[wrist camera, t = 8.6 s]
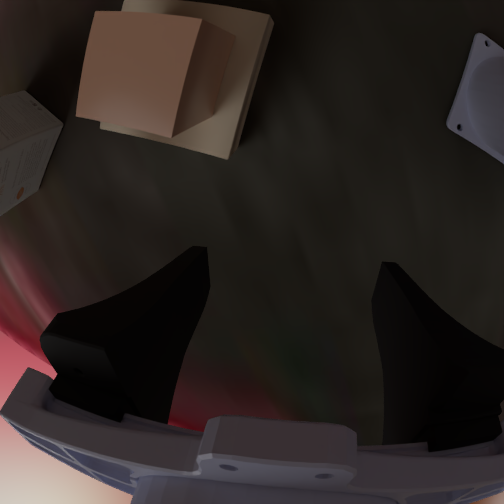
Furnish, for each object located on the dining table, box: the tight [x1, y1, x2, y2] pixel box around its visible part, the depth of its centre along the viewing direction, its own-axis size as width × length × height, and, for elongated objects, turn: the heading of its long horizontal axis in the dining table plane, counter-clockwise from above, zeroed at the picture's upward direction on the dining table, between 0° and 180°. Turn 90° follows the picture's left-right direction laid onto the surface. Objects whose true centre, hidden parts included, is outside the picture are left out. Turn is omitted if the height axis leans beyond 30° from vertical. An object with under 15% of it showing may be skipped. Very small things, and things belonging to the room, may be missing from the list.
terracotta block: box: [76, 11, 236, 138], centre depth 13 cm, size 5×5×6 cm
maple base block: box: [100, 0, 274, 160], centre depth 17 cm, size 9×9×4 cm
